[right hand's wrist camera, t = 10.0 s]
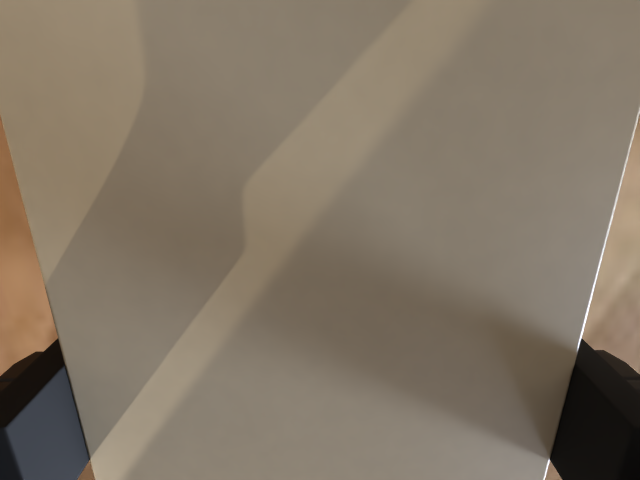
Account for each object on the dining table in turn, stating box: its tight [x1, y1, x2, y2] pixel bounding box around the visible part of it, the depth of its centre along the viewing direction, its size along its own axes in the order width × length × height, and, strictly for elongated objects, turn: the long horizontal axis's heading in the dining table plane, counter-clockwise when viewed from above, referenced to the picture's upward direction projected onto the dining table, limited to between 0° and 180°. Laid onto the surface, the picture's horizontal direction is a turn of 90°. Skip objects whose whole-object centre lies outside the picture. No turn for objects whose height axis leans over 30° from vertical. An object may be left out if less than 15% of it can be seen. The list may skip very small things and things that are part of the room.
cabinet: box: [0, 0, 640, 480], centre depth 12 cm, size 19×11×10 cm, turn 0°
